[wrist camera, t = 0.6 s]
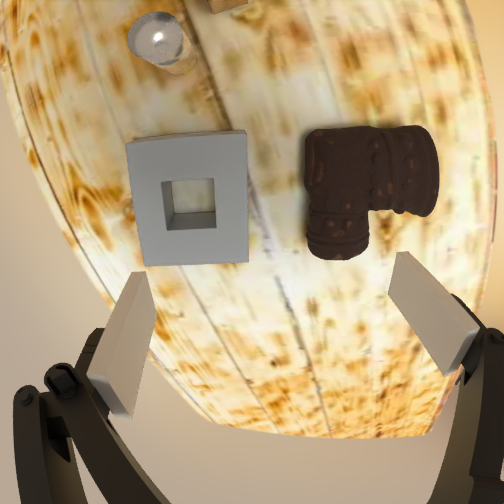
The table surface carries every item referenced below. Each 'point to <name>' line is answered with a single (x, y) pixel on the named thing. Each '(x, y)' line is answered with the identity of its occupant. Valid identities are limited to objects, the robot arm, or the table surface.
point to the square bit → (225, 4)
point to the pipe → (365, 183)
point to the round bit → (162, 43)
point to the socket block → (190, 224)
